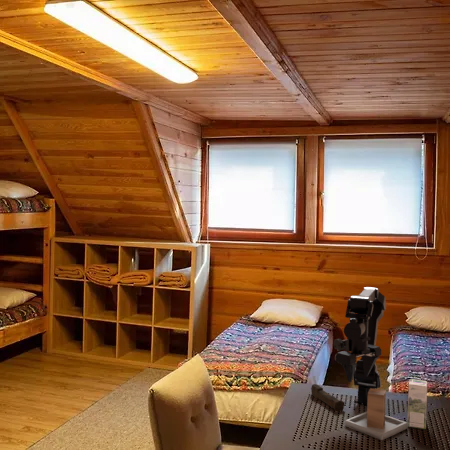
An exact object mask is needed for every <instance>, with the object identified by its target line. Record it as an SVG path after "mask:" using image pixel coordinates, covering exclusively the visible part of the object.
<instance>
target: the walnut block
mask: <svg viewBox="0 0 450 450" xmlns="http://www.w3.org/2000/svg"><path fill="white" fill-rule="evenodd" d="M386 399H387V390H386V389H379V388H378V389H376V388H375V389H372V388H370V390H369V392H368V402H367V405H366V406H367V407H366V408H367V410H366V412H367V427H373V428H379V429H383V427H384V425H385V415H386V403H387V401H386Z"/></svg>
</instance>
